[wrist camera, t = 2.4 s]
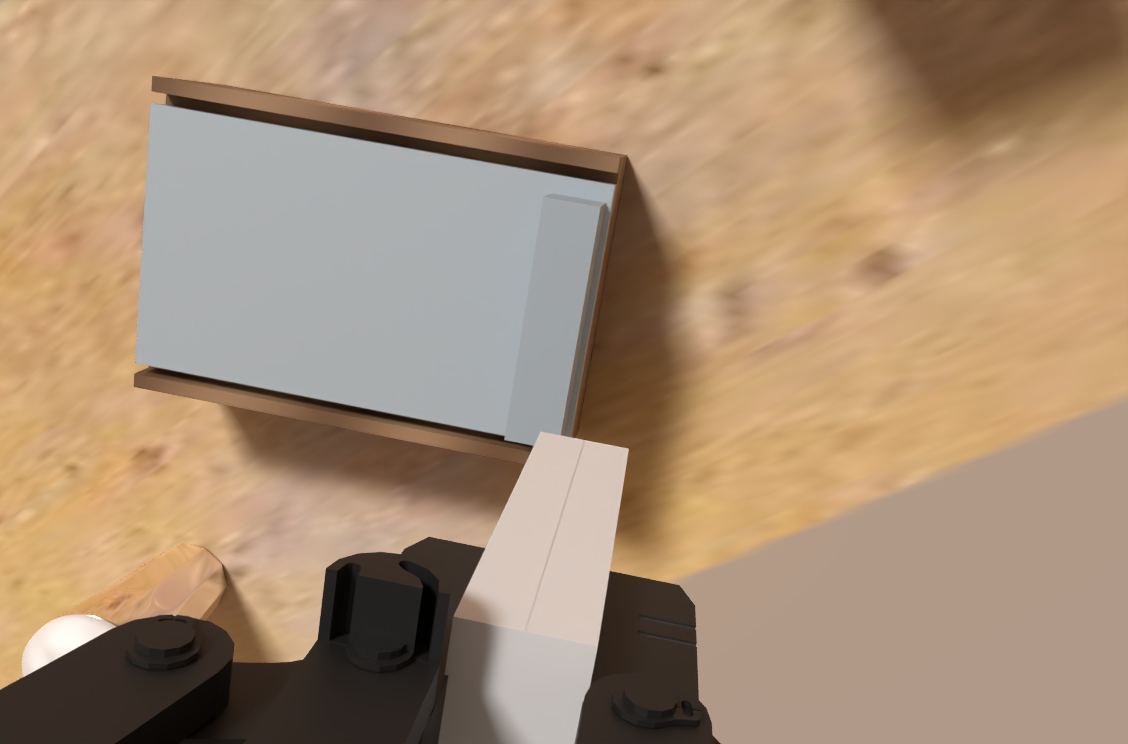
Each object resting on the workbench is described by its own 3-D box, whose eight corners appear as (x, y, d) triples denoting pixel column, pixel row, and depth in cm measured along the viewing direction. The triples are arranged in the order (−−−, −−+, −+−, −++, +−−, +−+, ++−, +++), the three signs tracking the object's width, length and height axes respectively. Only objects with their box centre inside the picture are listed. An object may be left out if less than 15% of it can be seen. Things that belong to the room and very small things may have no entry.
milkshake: (161, 645, 44) (14, 788, 34) (131, 534, 43) (-28, 649, 33) (255, 637, 43) (134, 780, 33) (228, 524, 42) (95, 638, 32)
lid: (616, 184, 33) (610, 188, 30) (571, 439, 35) (560, 468, 32) (165, 104, 34) (114, 100, 31) (149, 356, 36) (100, 377, 33)
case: (627, 155, 37) (619, 157, 32) (577, 431, 39) (564, 472, 34) (219, 84, 38) (152, 75, 33) (198, 357, 40) (133, 386, 36)
